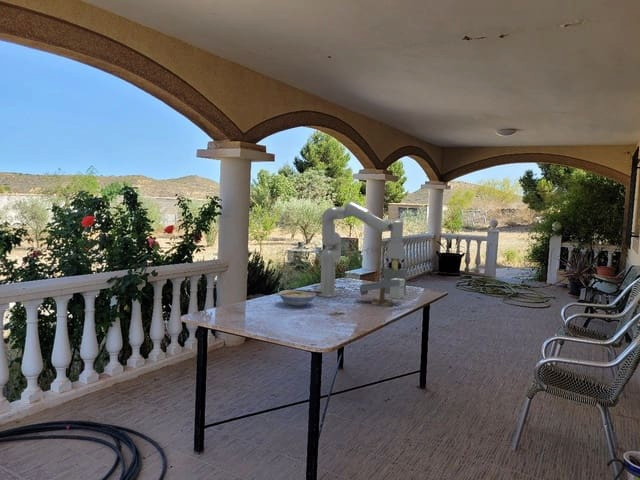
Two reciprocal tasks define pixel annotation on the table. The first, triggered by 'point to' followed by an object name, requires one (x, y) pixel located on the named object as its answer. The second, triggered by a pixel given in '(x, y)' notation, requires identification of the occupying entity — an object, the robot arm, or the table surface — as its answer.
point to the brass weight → (395, 264)
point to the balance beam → (378, 286)
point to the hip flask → (394, 274)
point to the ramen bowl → (297, 296)
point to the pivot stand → (382, 299)
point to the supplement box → (397, 289)
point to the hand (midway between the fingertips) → (394, 269)
